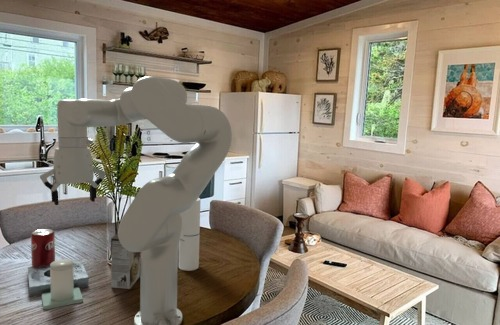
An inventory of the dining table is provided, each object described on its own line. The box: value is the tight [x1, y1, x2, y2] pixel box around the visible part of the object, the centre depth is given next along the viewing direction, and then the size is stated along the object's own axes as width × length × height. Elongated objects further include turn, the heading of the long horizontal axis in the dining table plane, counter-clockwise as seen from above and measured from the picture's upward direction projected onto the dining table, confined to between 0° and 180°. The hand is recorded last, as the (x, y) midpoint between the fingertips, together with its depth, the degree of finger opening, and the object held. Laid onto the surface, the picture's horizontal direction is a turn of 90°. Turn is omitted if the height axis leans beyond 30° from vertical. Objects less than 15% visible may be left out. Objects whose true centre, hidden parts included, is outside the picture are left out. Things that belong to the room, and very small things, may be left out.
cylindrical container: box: [178, 197, 202, 272], centre depth 137 cm, size 7×7×25 cm
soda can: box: [30, 228, 56, 267], centre depth 134 cm, size 7×7×12 cm
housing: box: [27, 259, 89, 298], centre depth 123 cm, size 16×16×3 cm
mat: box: [41, 287, 84, 310], centre depth 112 cm, size 8×10×1 cm
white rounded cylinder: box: [50, 258, 74, 301], centre depth 111 cm, size 6×6×10 cm
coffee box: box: [110, 232, 141, 290], centre depth 123 cm, size 9×6×16 cm
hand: (74, 202), depth 111 cm, fingers open, 9 cm apart
